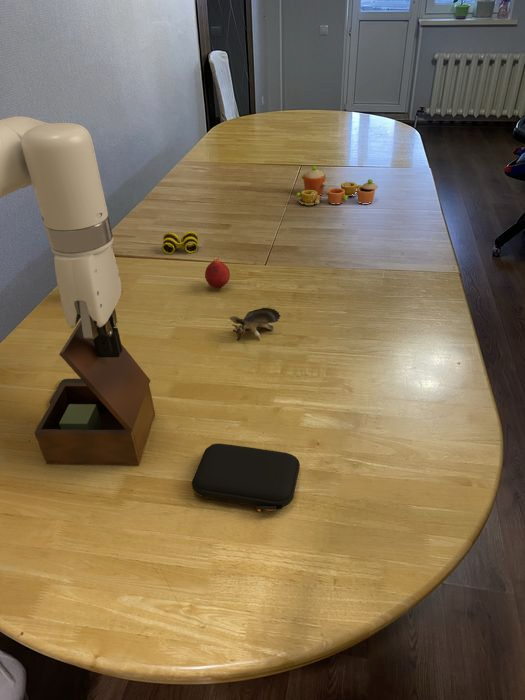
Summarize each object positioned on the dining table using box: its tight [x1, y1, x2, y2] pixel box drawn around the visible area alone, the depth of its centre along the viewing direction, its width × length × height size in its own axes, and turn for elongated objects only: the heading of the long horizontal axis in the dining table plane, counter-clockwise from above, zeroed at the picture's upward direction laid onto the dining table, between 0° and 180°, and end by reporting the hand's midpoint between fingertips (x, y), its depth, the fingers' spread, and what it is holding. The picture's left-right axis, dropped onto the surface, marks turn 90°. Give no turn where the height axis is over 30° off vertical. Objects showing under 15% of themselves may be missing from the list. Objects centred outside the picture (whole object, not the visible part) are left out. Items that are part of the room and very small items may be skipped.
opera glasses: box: [161, 231, 199, 255], centre depth 141 cm, size 10×5×5 cm, turn 92°
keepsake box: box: [33, 383, 156, 467], centre depth 82 cm, size 15×12×7 cm
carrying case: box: [191, 442, 301, 513], centre depth 75 cm, size 11×3×15 cm
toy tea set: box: [295, 165, 379, 206], centre depth 169 cm, size 26×16×10 cm, turn 85°
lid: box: [58, 319, 151, 432], centre depth 76 cm, size 16×12×1 cm
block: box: [59, 404, 102, 430], centre depth 83 cm, size 4×4×4 cm
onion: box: [204, 257, 231, 290], centre depth 122 cm, size 6×6×8 cm
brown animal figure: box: [229, 307, 282, 341], centre depth 106 cm, size 8×7×9 cm
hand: (110, 353), depth 74 cm, fingers closed
